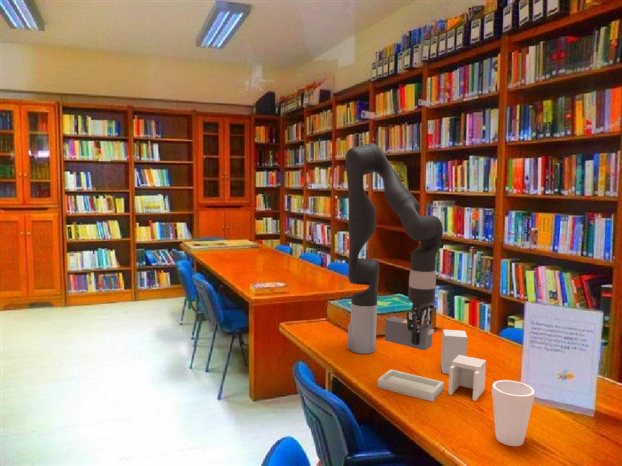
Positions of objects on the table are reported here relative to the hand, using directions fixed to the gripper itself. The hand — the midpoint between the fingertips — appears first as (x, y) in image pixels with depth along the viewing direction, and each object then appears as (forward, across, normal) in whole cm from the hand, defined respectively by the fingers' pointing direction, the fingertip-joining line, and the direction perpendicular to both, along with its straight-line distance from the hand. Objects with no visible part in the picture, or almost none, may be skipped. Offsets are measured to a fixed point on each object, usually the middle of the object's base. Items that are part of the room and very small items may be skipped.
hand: (419, 341), depth 150 cm
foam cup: (+14, -12, -30) cm, 36 cm away
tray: (+15, 0, +2) cm, 15 cm away
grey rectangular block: (+1, 0, +4) cm, 4 cm away
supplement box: (+15, +22, -2) cm, 27 cm away
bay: (+15, +8, -12) cm, 21 cm away
